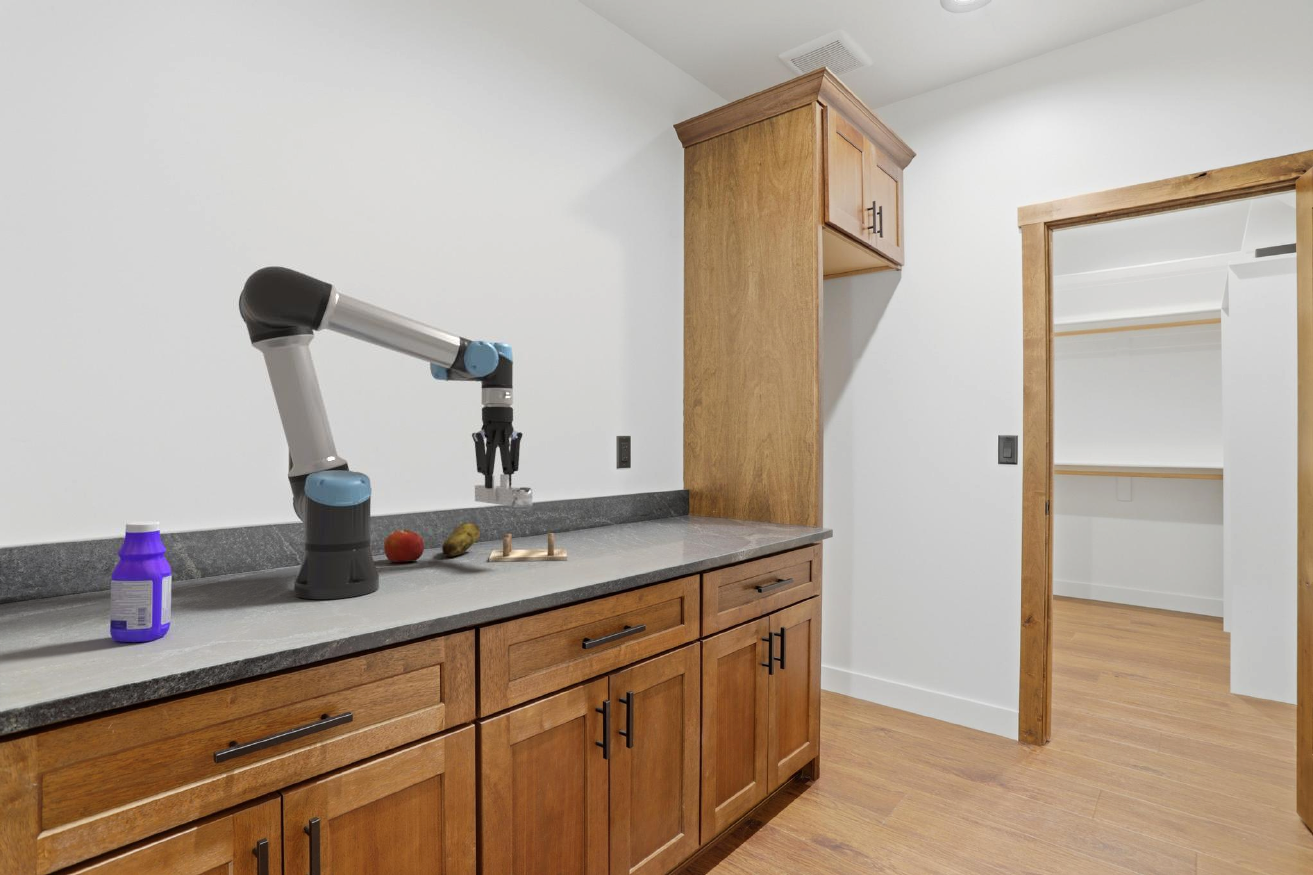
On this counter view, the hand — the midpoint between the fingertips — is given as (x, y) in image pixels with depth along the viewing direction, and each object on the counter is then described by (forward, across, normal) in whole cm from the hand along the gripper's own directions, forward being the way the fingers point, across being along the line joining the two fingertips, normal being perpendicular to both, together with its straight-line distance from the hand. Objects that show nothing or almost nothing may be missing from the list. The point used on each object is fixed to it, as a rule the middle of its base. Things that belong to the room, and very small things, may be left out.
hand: (498, 501), depth 164 cm
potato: (+15, -2, +15) cm, 22 cm away
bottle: (+14, -74, -16) cm, 76 cm away
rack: (+15, +9, 0) cm, 17 cm away
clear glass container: (+1, 0, -2) cm, 2 cm away
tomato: (+15, -17, +16) cm, 27 cm away
